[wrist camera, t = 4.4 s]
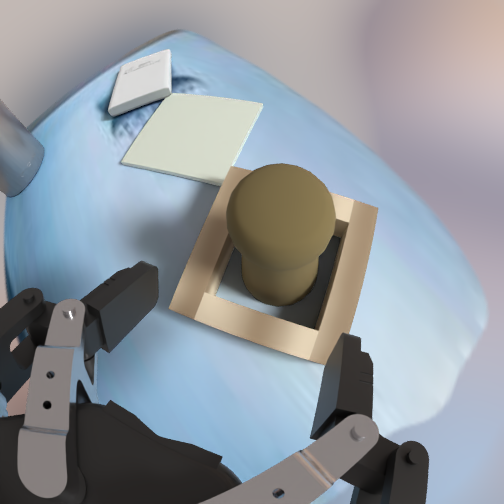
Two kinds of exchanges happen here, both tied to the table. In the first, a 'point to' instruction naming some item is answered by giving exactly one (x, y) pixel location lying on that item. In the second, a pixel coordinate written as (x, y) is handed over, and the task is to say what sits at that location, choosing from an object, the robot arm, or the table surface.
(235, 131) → the mat
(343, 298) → the holder
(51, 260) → the table surface
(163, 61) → the external hard drive
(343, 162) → the table surface
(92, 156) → the table surface
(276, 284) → the cork
